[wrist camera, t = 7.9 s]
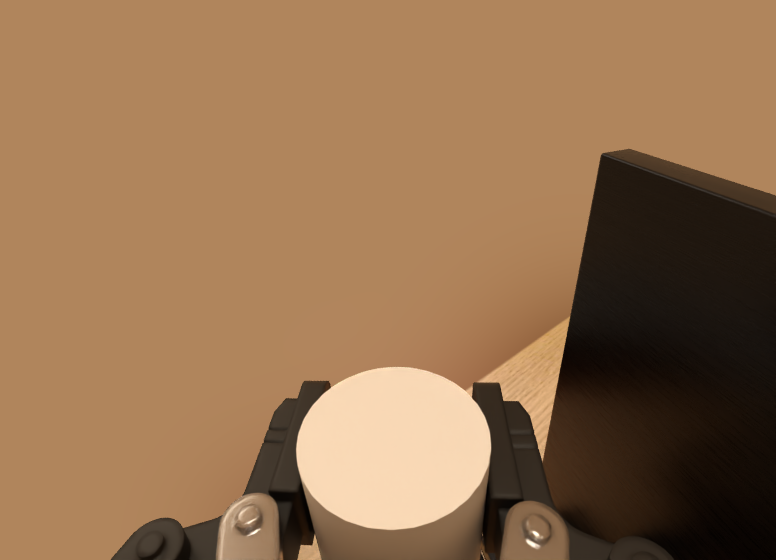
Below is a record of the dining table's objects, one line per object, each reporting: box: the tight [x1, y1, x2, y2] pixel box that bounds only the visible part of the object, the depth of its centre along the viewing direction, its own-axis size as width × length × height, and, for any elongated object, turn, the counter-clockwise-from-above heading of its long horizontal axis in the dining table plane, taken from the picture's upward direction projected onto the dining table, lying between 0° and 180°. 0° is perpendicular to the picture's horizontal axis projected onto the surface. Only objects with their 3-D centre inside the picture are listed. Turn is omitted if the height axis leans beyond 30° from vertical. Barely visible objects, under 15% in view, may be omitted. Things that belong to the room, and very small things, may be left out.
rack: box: [480, 149, 776, 560], centre depth 15 cm, size 18×12×23 cm
